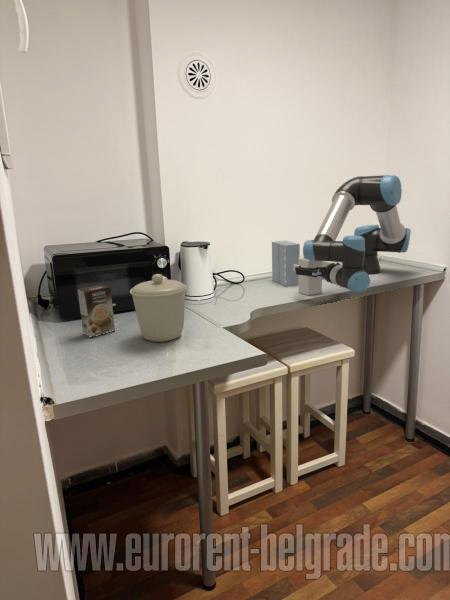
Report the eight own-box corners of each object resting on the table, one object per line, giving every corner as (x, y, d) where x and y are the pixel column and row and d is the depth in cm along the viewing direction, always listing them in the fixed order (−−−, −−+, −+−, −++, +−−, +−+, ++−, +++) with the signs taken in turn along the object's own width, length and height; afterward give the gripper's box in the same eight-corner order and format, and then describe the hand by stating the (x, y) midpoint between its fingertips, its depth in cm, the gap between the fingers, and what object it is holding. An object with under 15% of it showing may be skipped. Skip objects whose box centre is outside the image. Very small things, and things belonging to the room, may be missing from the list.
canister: (166, 350, 130) (160, 283, 124) (123, 341, 139) (115, 277, 134) (201, 332, 144) (197, 270, 139) (160, 324, 154) (154, 266, 148)
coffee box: (91, 338, 143) (84, 292, 139) (82, 334, 148) (76, 289, 143) (116, 331, 149) (110, 286, 145) (107, 327, 154) (101, 283, 149)
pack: (285, 278, 213) (284, 240, 208) (299, 284, 200) (299, 243, 195) (271, 280, 210) (271, 241, 205) (285, 286, 198) (285, 245, 193)
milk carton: (311, 289, 190) (311, 247, 185) (321, 293, 184) (322, 249, 179) (298, 292, 187) (298, 249, 182) (308, 295, 181) (308, 251, 176)
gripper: (308, 288, 162) (281, 277, 181) (363, 280, 170) (332, 270, 189) (308, 268, 160) (281, 259, 179) (364, 261, 168) (332, 253, 187)
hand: (307, 265), depth 184 cm, fingers open, 13 cm apart
